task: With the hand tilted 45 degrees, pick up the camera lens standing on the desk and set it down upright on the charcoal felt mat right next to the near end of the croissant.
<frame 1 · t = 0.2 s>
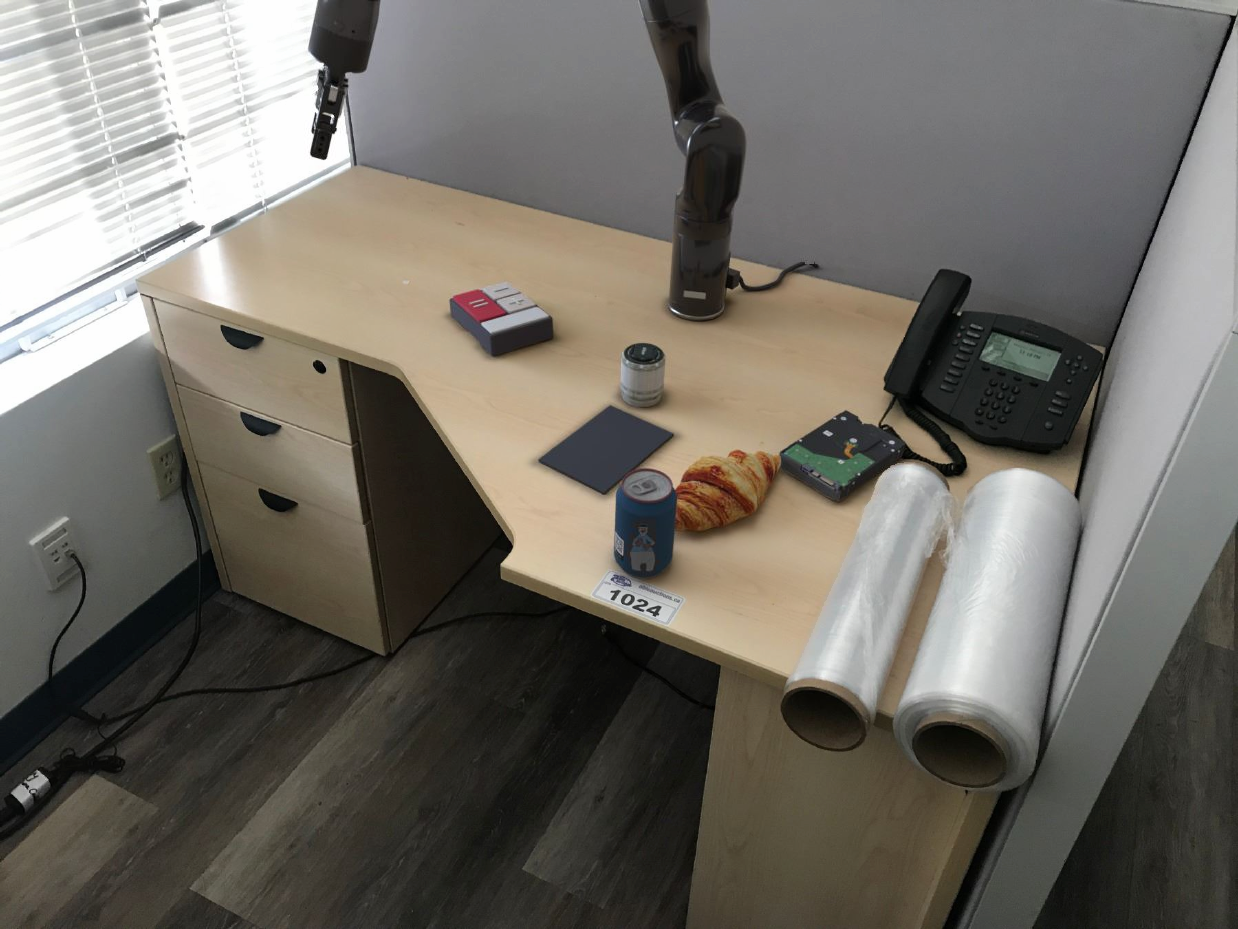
hand: (318, 145, 134), 31 cm above the table, tool tilted 20°, fingers open, 8 cm apart
soda can: (642, 563, 117), on the table
disk drive: (839, 463, 133), on the table
calculator: (501, 327, 159), on the table
croissant: (723, 504, 126), on the table
felt mat: (607, 448, 134), on the table
camera lens: (641, 397, 144), on the table
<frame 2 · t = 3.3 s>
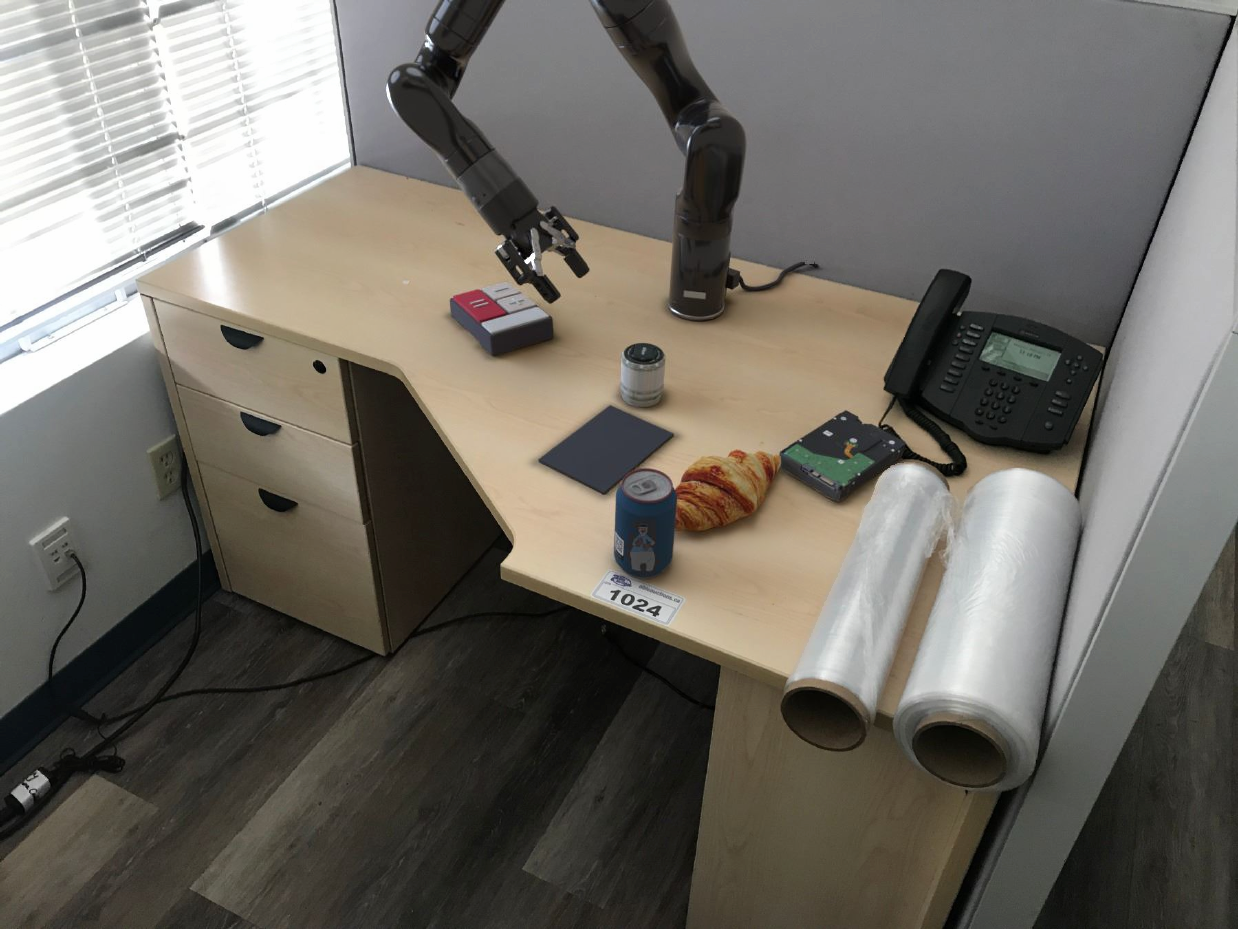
hand: (570, 287, 139), 15 cm above the table, tool tilted 45°, fingers open, 8 cm apart
nothing on the table moved.
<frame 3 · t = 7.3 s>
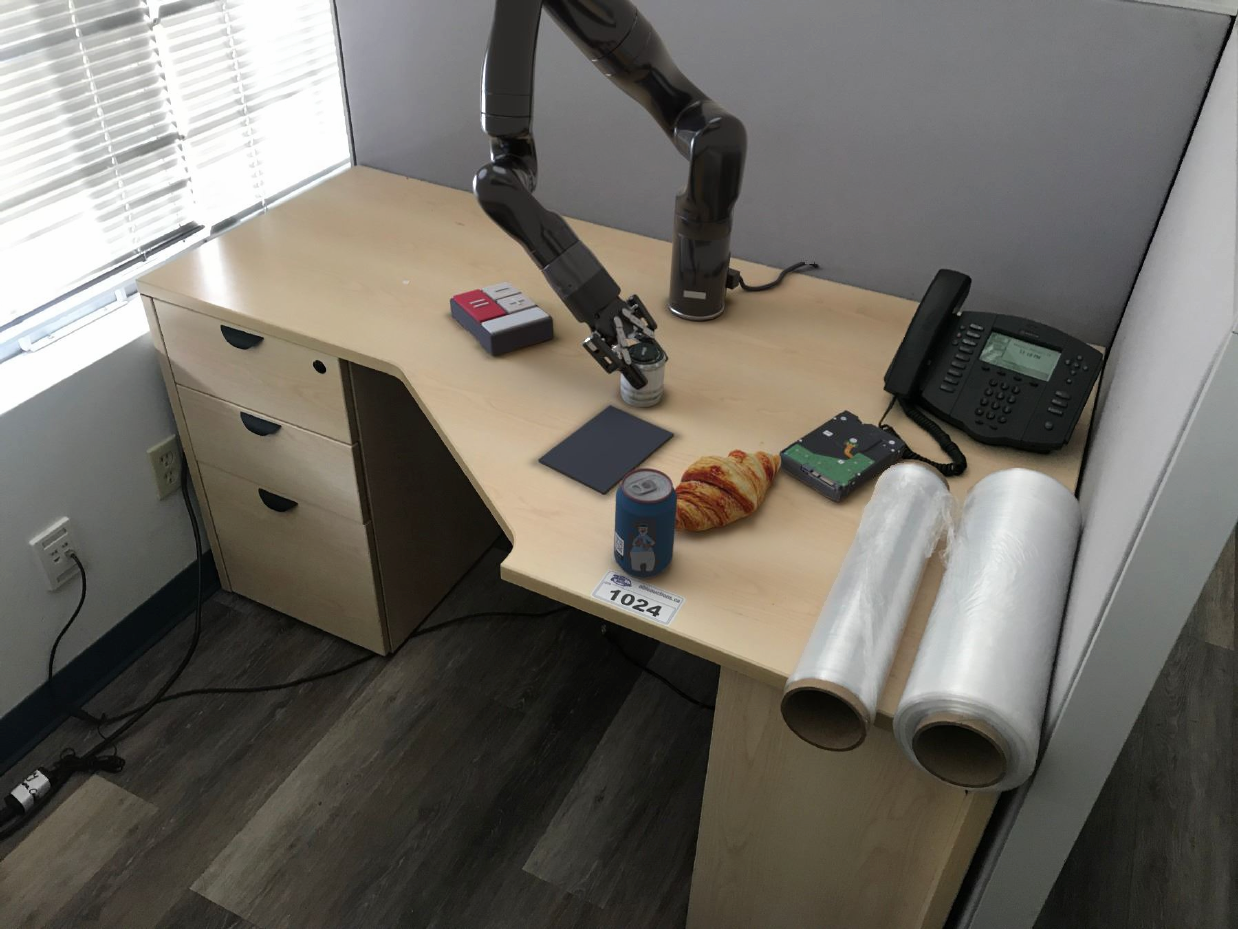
hand: (653, 374, 141), 4 cm above the table, tool tilted 45°, fingers closed on camera lens, 6 cm apart
camera lens: (641, 397, 144), on the table, touching gripper
everything else where it was.
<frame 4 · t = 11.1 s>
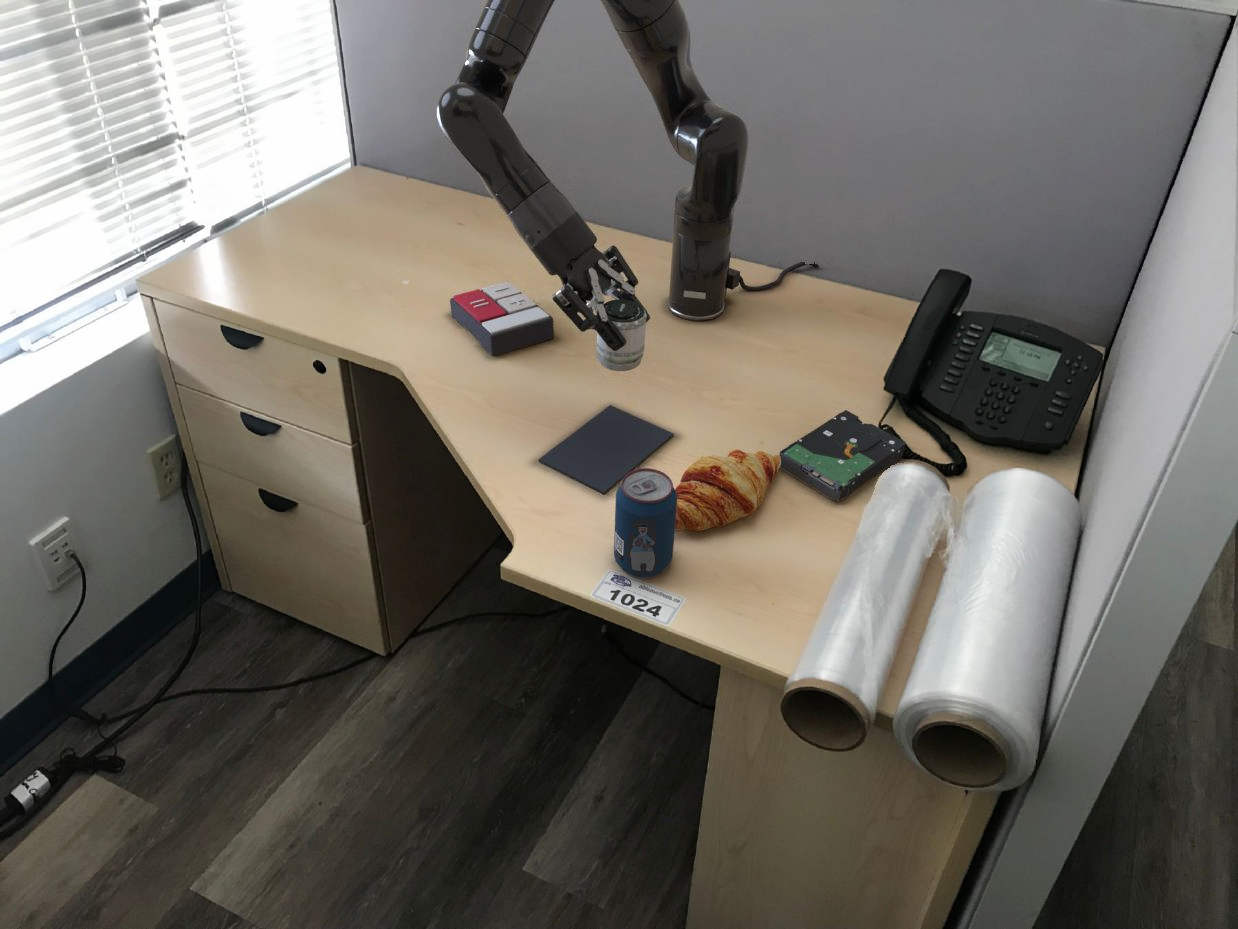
hand: (632, 334, 126), 16 cm above the table, tool tilted 45°, fingers closed on camera lens, 6 cm apart
camera lens: (619, 361, 130), point 12 cm above the table, touching gripper
everything else where it was.
when the fingers open (5 cm above the table, at t = 15.2 s): camera lens stays where it is, resting on felt mat.
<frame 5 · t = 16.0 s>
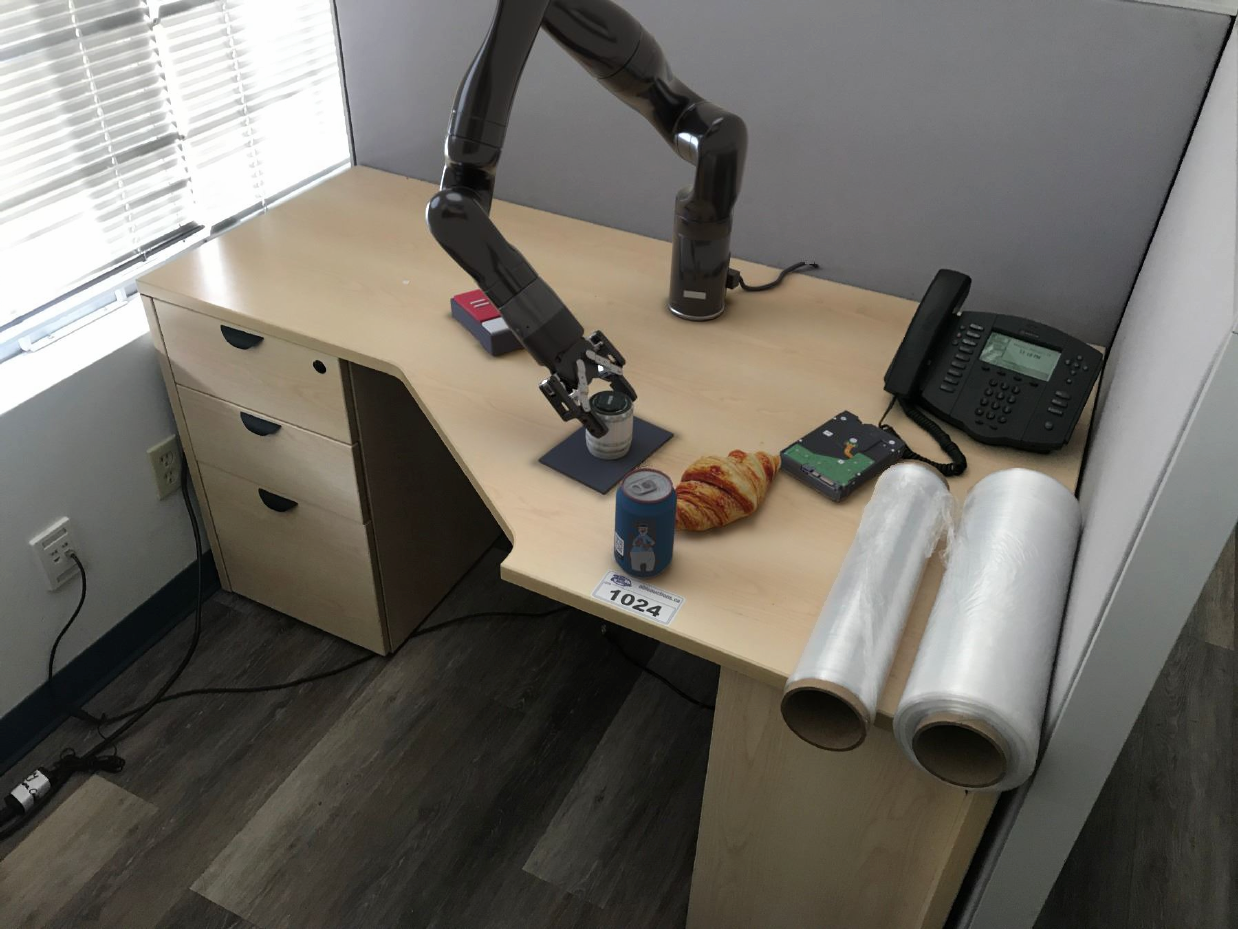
hand: (618, 418, 130), 6 cm above the table, tool tilted 45°, fingers open, 8 cm apart
camera lens: (608, 448, 134), resting on felt mat
everything else where it was.
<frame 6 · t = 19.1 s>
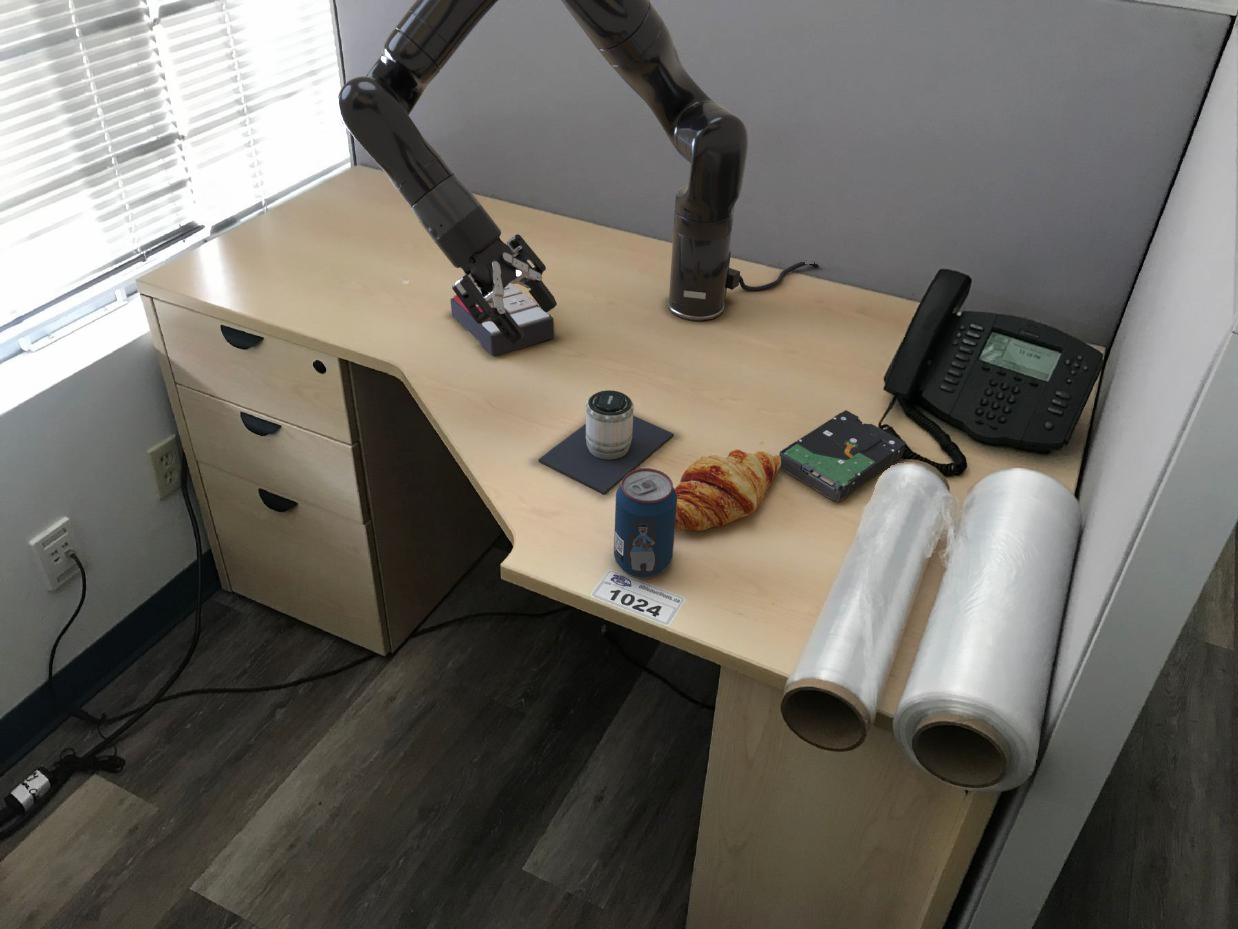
hand: (535, 323, 129), 16 cm above the table, tool tilted 45°, fingers open, 8 cm apart
nothing on the table moved.
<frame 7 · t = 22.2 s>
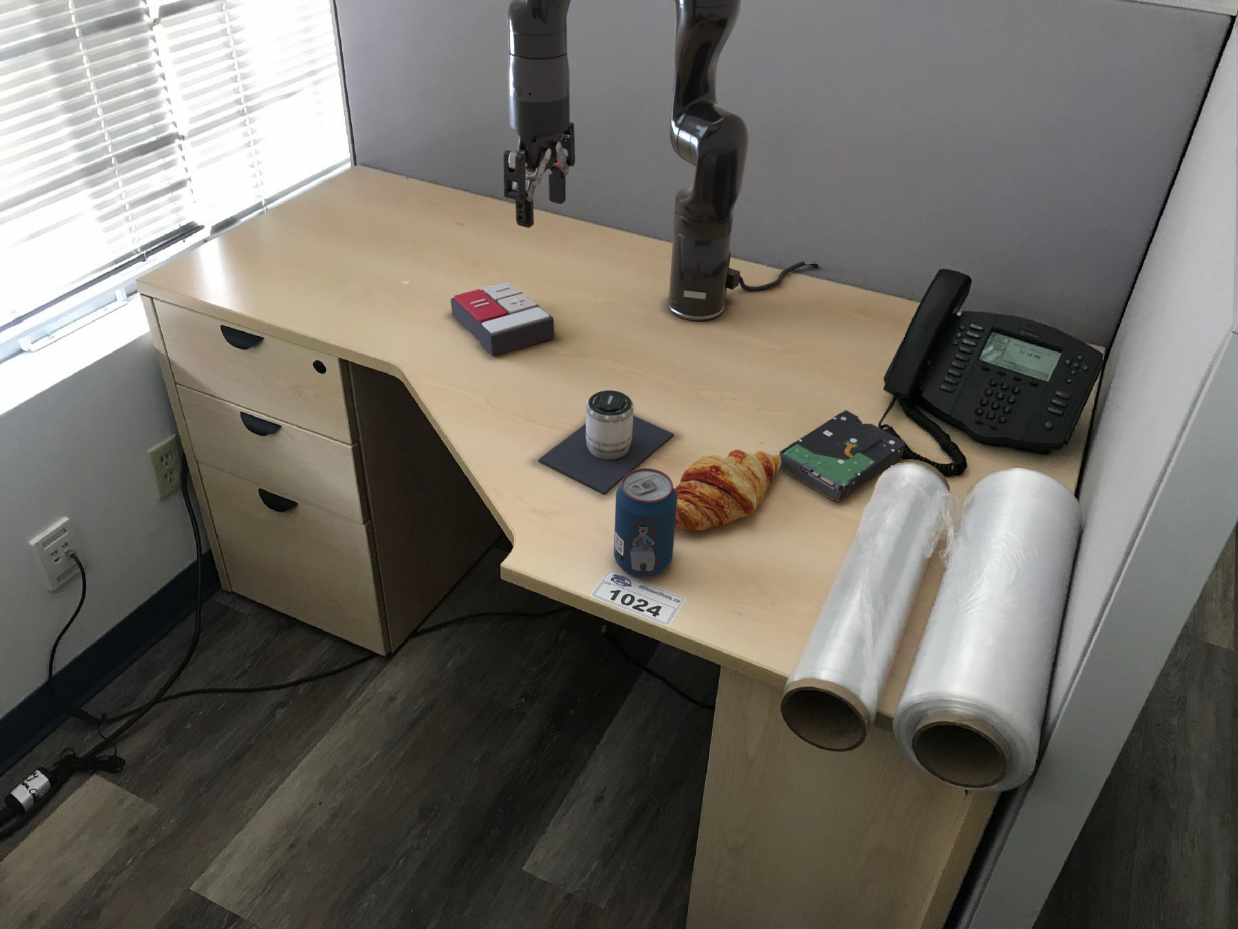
hand: (541, 213, 131), 26 cm above the table, tool pointing down, fingers open, 8 cm apart
nothing on the table moved.
at the end: camera lens inside the target area on the table beside the croissant (0.1 cm from its centre), resting on felt mat; camera lens tilted 0°; the gripper is holding nothing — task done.
